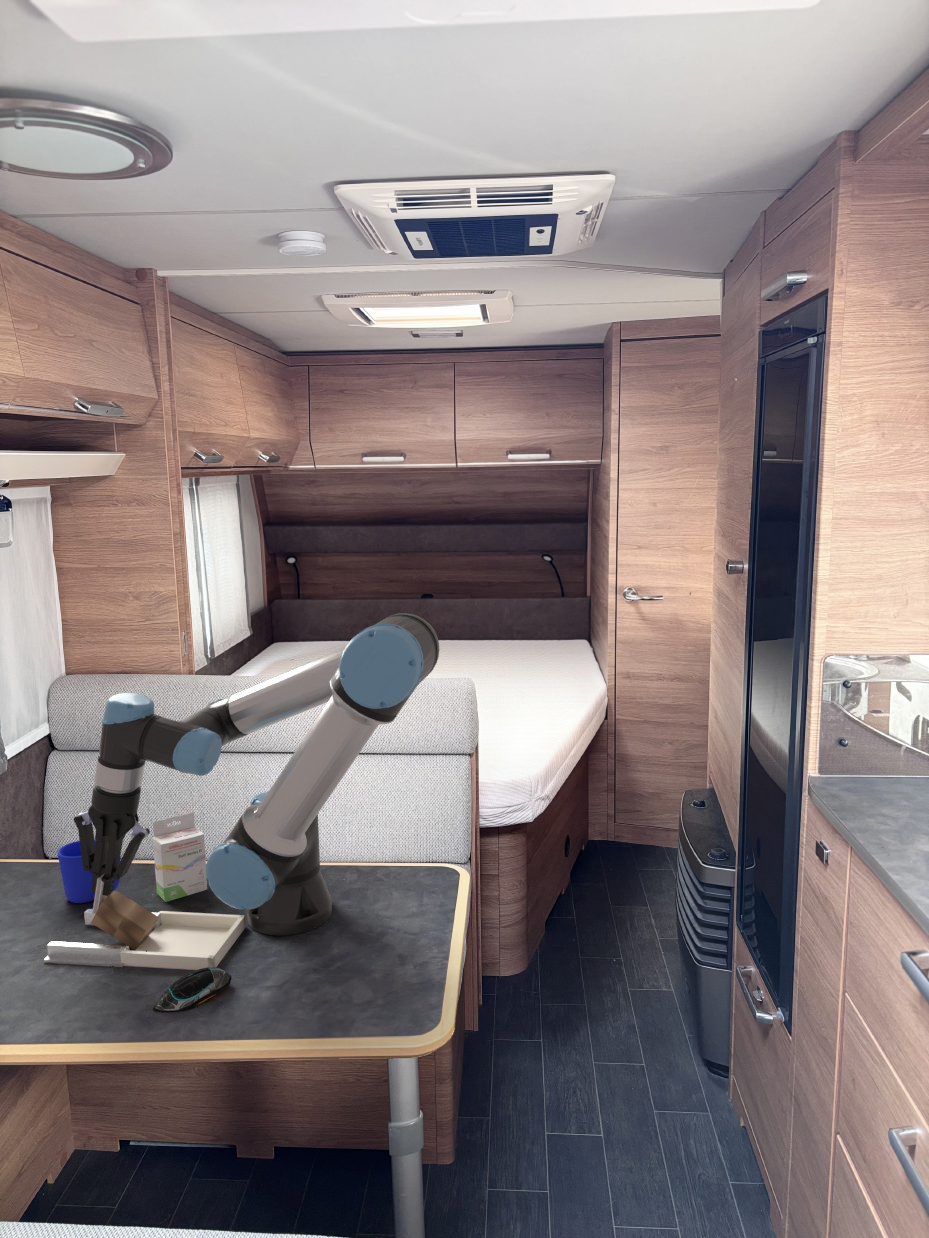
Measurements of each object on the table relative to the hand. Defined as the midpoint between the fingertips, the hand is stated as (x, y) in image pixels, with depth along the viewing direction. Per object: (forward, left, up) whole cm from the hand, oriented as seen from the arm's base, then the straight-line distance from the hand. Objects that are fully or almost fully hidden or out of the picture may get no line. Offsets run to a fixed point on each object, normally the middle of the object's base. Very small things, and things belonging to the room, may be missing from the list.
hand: (99, 909), depth 153 cm
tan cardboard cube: (-5, 0, -5) cm, 7 cm away
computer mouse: (-23, +14, -6) cm, 28 cm away
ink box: (-6, -19, -6) cm, 21 cm away
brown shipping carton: (-2, 0, -2) cm, 3 cm away
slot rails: (-1, 0, -6) cm, 6 cm away
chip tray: (-15, 0, -6) cm, 17 cm away
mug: (+10, -15, -6) cm, 19 cm away
